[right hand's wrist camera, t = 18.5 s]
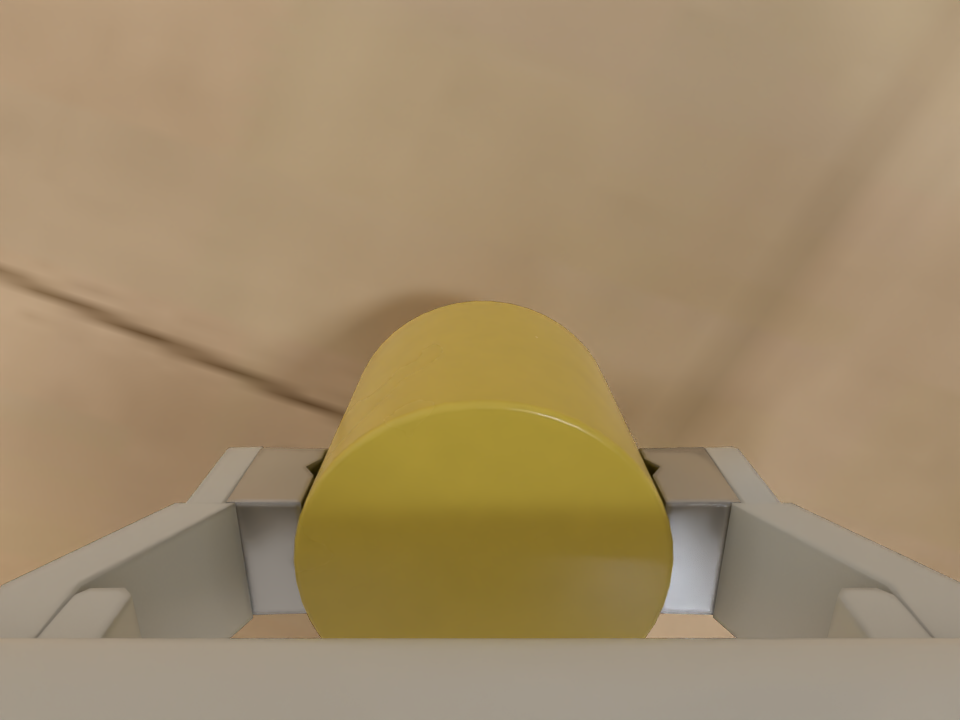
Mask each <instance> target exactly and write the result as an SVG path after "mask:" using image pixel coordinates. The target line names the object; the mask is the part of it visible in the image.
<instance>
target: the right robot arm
mask: <svg viewBox="0 0 960 720" xmlns="http://www.w3.org/2000/svg"><path fill="white" fill-rule="evenodd" d="M327 451H328V448H274V447H266V448H264V447H233V448H228V449H227V450H226V451H225V452H224V454H223V455H222V456H221V458H220V459H219V460H218V462H217V463H216V464H215V465H214V467H213V468H212V469H211V471H210V472H209V473H208V475H207V476H206V477H205V479H204V480H203V481H202V482H201V484H200V485H199V486H198V488H197V489H196V490H195V492H194V493H193V494H192V495H191V497H190V498H189V499H188V501H187V502H186V503H174V504H172V505H170V506H168V507H166V508H164V509H162V510H159V511H157V512H155V513H153V514H151V515H149V516H147V517H145V518H143V519H140V520H138V521H136V522H134V523H132V524H130V525H128V526H126V527H124V528H121V529H119V530H117V531H115V532H113V533H111V534H109V535H107V536H105V537H103V538H100V539H98V540H96V541H94V542H92V543H90V544H88V545H86V546H84V547H81V548H79V549H77V550H75V551H73V552H71V553H69V554H67V555H65V556H62V557H60V558H58V559H56V560H54V561H52V562H50V563H48V564H46V565H43V566H41V567H39V568H37V569H35V570H33V571H31V572H29V573H27V574H24V575H22V576H20V577H18V578H16V579H14V580H12V581H10V582H8V583H6V584H3V585H2V586H1V587H0V720H960V582H958V581H956V580H954V579H952V578H950V577H947V576H945V575H943V574H941V573H939V572H937V571H935V570H933V569H930V568H928V567H926V566H924V565H922V564H920V563H918V562H916V561H914V560H911V559H909V558H907V557H905V556H903V555H901V554H899V553H897V552H894V551H892V550H890V549H888V548H886V547H884V546H882V545H880V544H877V543H875V542H873V541H871V540H869V539H867V538H865V537H863V536H860V535H858V534H856V533H854V532H852V531H850V530H848V529H846V528H843V527H841V526H839V525H837V524H835V523H833V522H831V521H829V520H827V519H824V518H822V517H820V516H818V515H816V514H814V513H812V512H810V511H807V510H805V509H803V508H801V507H799V506H797V505H795V504H793V503H781V502H780V501H779V500H778V499H777V497H776V496H775V495H774V494H773V492H772V491H771V490H770V488H769V487H768V486H767V485H766V483H765V482H764V481H763V480H762V478H761V477H760V476H759V475H758V473H757V472H756V471H755V469H754V468H753V467H752V466H751V464H750V463H749V462H748V461H747V459H746V458H745V457H744V456H743V454H742V453H741V452H740V450H739V449H737V448H735V447H732V446H731V447H709V448H704V447H688V448H646V449H638V451H639V453H640V455H641V457H642V459H643V461H644V463H645V466H646V468H647V470H648V472H649V474H650V476H651V478H652V480H653V482H654V485H655V487H656V489H657V491H658V493H659V495H660V497H661V499H662V502H663V504H664V507H665V510H666V513H667V516H668V519H669V522H670V528H671V533H672V539H673V568H672V575H671V582H670V587H669V590H668V593H667V596H666V600H665V603H664V606H663V608H662V610H661V612H660V613H667V614H704V615H713V618H714V619H715V620H717V621H718V622H719V623H720V624H721V625H722V626H723V627H725V628H726V629H727V630H728V631H729V632H730V633H731V634H732V635H734V636H735V637H736V638H231V637H232V636H233V635H234V634H235V633H237V632H238V631H239V630H240V629H241V628H242V627H243V626H244V625H246V624H247V623H248V622H249V621H250V620H251V619H252V618H253V615H262V614H298V613H307V612H306V610H305V608H304V606H303V603H302V601H301V597H300V593H299V590H298V586H297V582H296V576H295V567H294V540H295V534H296V529H297V525H298V520H299V517H300V514H301V511H302V509H303V506H304V504H305V501H306V498H307V496H308V494H309V492H310V489H311V487H312V485H313V483H314V480H315V478H316V476H317V474H318V472H319V469H320V467H321V465H322V463H323V460H324V458H325V456H326V454H327Z"/></svg>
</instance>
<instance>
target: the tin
mask: <svg viewBox="0 0 960 720" xmlns="http://www.w3.org/2000/svg"><path fill="white" fill-rule="evenodd" d="M294 567H295V576H296V582H297V586H298V590H299V593H300V597H301V601H302V603H303V606H304V608H305V610H306V612H307V615H308V617H309V619H310V621H311V623H312V624H313V626H314V628H315V629H316V631H317V632H318V634H319V636H320V637H321V638H646V636H647V635H648V633H649V632H650V630H651V629H652V627H653V626H654V624H655V622H656V620H657V618H658V616H659V614H660V612H661V610H662V608H663V606H664V603H665V600H666V596H667V593H668V590H669V587H670V582H671V575H672V568H673V539H672V533H671V528H670V522H669V519H668V516H667V513H666V510H665V507H664V504H663V502H662V499H661V497H660V495H659V493H658V491H657V489H656V487H655V485H654V482H653V480H652V478H651V476H650V474H649V472H648V470H647V468H646V466H645V463H644V461H643V459H642V457H641V455H640V453H639V451H638V449H637V446H636V444H635V442H634V440H633V438H632V436H631V434H630V432H629V430H628V427H627V425H626V423H625V421H624V419H623V417H622V415H621V413H620V410H619V408H618V406H617V404H616V402H615V400H614V398H613V396H612V394H611V391H610V389H609V387H608V385H607V383H606V381H605V379H604V377H603V375H602V373H601V371H600V369H599V367H598V365H597V363H596V361H595V359H594V358H593V357H592V355H591V354H590V353H589V351H588V350H587V349H586V347H585V346H584V345H583V344H582V343H581V342H580V341H579V340H578V339H577V338H576V337H575V336H574V335H573V334H572V333H571V332H569V331H568V330H567V329H566V328H564V327H563V326H562V325H560V324H559V323H557V322H555V321H554V320H552V319H550V318H549V317H547V316H545V315H543V314H541V313H538V312H536V311H533V310H531V309H528V308H525V307H521V306H518V305H514V304H510V303H502V302H495V301H471V302H462V303H455V304H451V305H447V306H443V307H439V308H437V309H434V310H432V311H429V312H426V313H424V314H422V315H420V316H418V317H416V318H414V319H413V320H411V321H409V322H407V323H406V324H404V325H403V326H402V327H400V328H399V329H398V330H396V331H395V332H394V333H393V334H392V335H391V336H390V337H388V338H387V339H386V340H385V341H384V342H383V343H382V344H381V346H380V347H379V348H378V349H377V351H376V352H375V353H374V355H373V356H372V357H371V359H370V361H369V362H368V364H367V366H366V368H365V369H364V371H363V373H362V376H361V378H360V380H359V382H358V385H357V387H356V389H355V391H354V393H353V396H352V398H351V400H350V402H349V405H348V407H347V409H346V411H345V414H344V416H343V418H342V420H341V422H340V425H339V427H338V429H337V431H336V434H335V436H334V438H333V440H332V443H331V445H330V447H329V449H328V451H327V454H326V456H325V458H324V460H323V463H322V465H321V467H320V469H319V472H318V474H317V476H316V478H315V480H314V483H313V485H312V487H311V489H310V492H309V494H308V496H307V498H306V501H305V504H304V506H303V509H302V511H301V514H300V517H299V520H298V525H297V529H296V534H295V540H294Z"/></svg>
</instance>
